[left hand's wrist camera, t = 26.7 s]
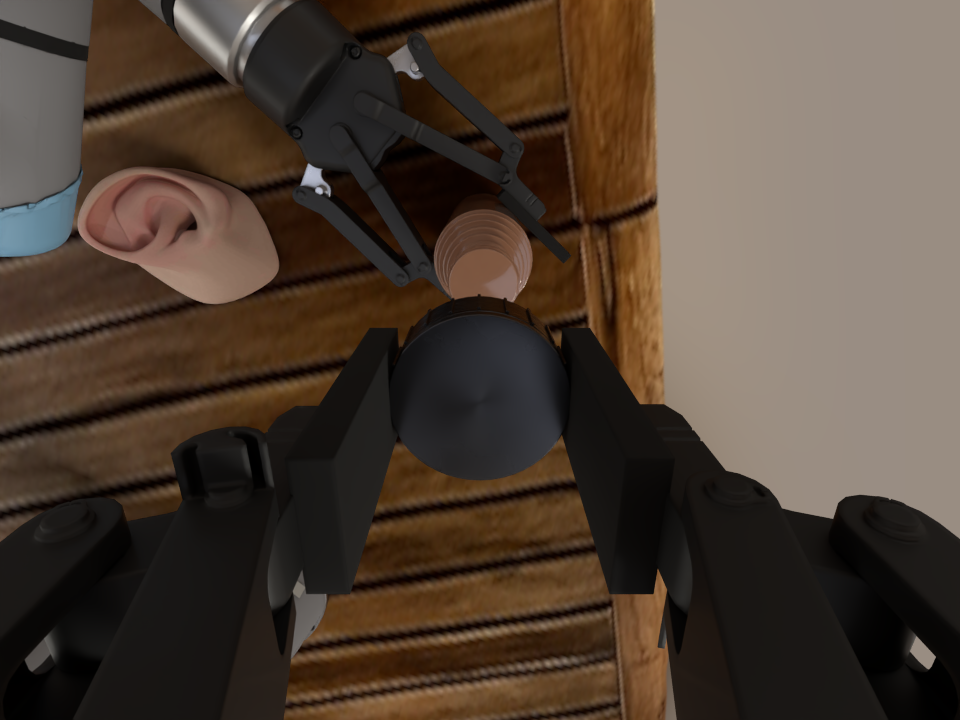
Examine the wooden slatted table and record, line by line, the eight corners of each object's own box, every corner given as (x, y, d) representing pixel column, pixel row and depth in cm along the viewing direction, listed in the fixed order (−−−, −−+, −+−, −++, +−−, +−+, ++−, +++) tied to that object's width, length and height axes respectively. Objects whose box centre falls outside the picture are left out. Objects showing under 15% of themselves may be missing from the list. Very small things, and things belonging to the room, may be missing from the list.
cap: (390, 293, 13) (377, 312, 12) (567, 292, 13) (580, 310, 12) (401, 446, 15) (392, 482, 13) (558, 446, 15) (568, 481, 13)
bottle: (528, 241, 43) (565, 304, 24) (470, 275, 44) (463, 360, 26) (495, 179, 42) (506, 196, 23) (435, 216, 43) (399, 261, 24)
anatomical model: (285, 258, 40) (194, 349, 43) (301, 250, 43) (217, 334, 46) (142, 117, 36) (53, 226, 39) (173, 121, 40) (90, 221, 43)
